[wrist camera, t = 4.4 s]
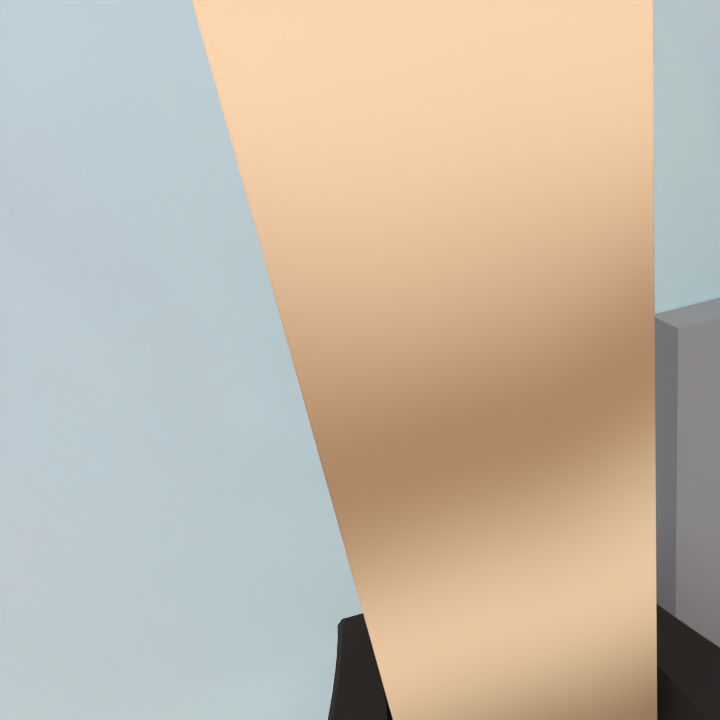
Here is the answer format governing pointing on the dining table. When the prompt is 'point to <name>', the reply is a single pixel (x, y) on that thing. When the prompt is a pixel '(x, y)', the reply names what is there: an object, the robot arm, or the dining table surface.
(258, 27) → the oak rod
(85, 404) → the dining table surface
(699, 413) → the fulcrum stand
